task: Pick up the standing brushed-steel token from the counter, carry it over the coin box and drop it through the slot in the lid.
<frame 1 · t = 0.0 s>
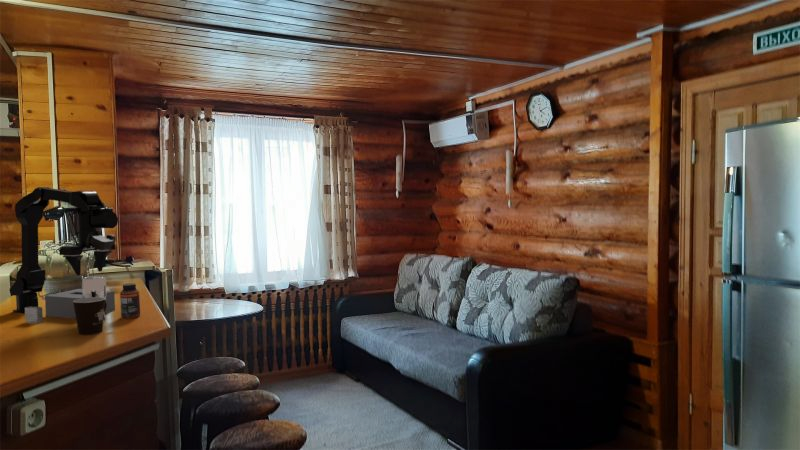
hand: (89, 273, 196), 15 cm above the worktop, fingers open, 9 cm apart
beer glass: (95, 323, 187), on the worktop
coffee mug: (95, 331, 176), on the worktop
supplement bottle: (130, 317, 195), on the worktop
token: (34, 322, 188), on the worktop
coin box: (81, 313, 201), on the worktop
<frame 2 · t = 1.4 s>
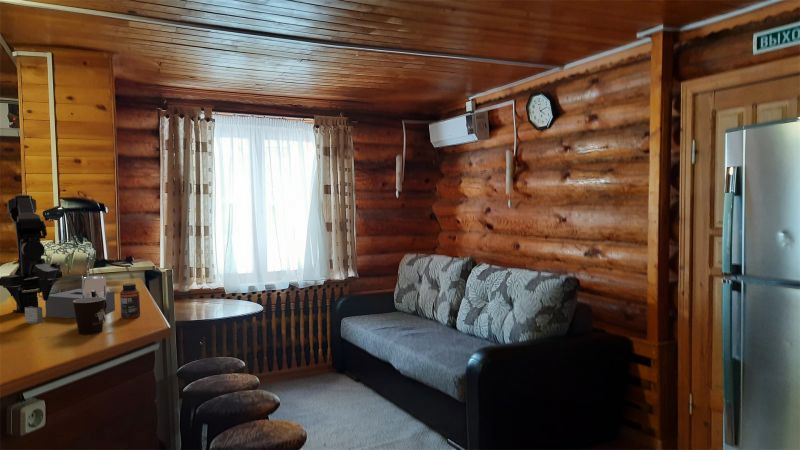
hand: (33, 303, 187), 6 cm above the worktop, fingers open, 9 cm apart
nothing on the worktop moved.
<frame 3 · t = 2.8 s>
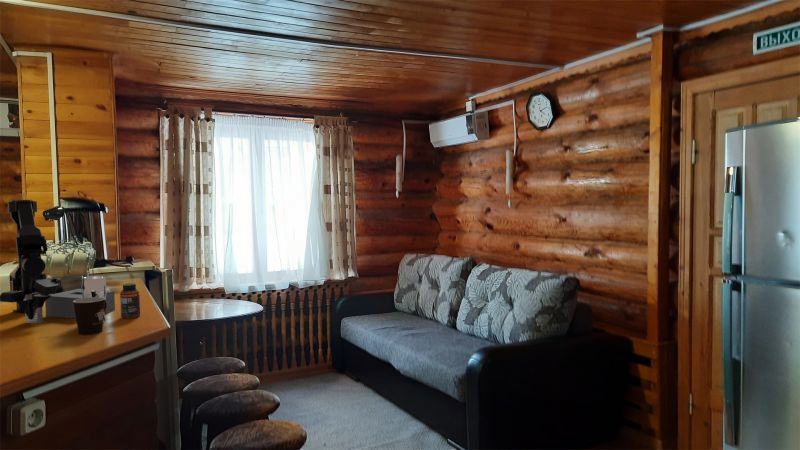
hand: (34, 318, 188), 1 cm above the worktop, fingers closed on token, 2 cm apart
token: (34, 322, 188), on the worktop, touching gripper
everything else where it was.
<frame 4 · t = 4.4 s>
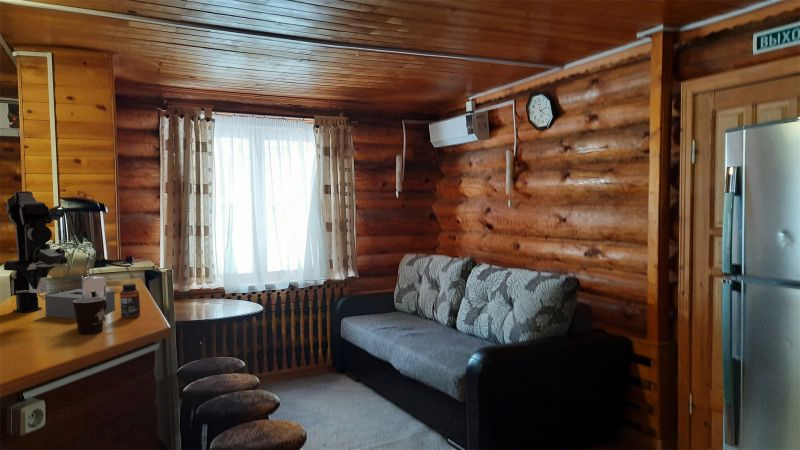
hand: (37, 288, 188), 11 cm above the worktop, fingers closed on token
token: (38, 292, 189), point 10 cm above the worktop, touching gripper
everything else where it was.
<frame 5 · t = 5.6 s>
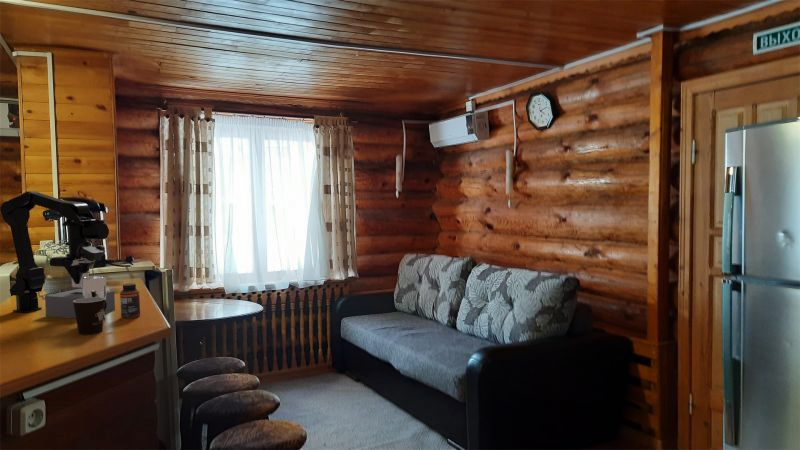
hand: (79, 283, 200), 11 cm above the worktop, fingers closed on token
token: (80, 286, 200), point 9 cm above the worktop, touching gripper
everything else where it was.
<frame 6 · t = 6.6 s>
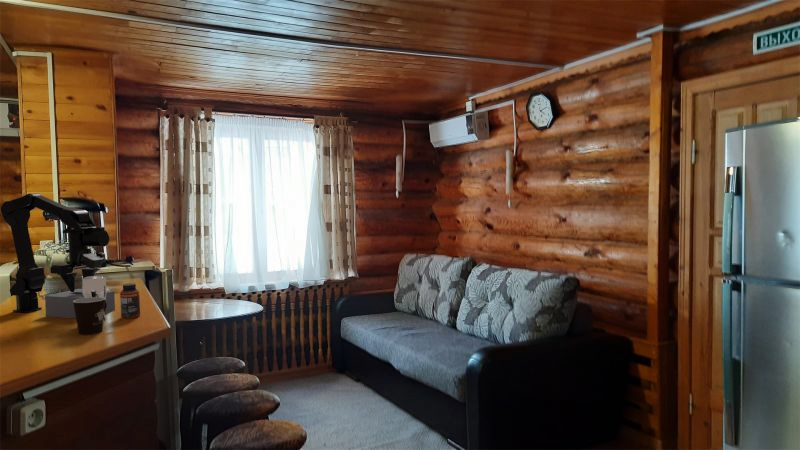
hand: (80, 290, 200), 8 cm above the worktop, fingers open, 6 cm apart
token: (81, 312, 201), resting in coin box, tilted 6°
everything else where it was.
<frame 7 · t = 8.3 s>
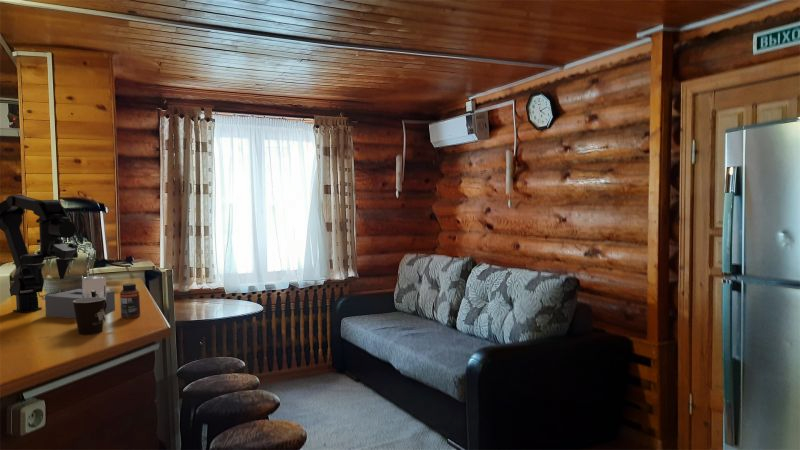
hand: (50, 281, 198), 12 cm above the worktop, fingers open, 9 cm apart
token: (81, 313, 201), resting in coin box
everything else where it was.
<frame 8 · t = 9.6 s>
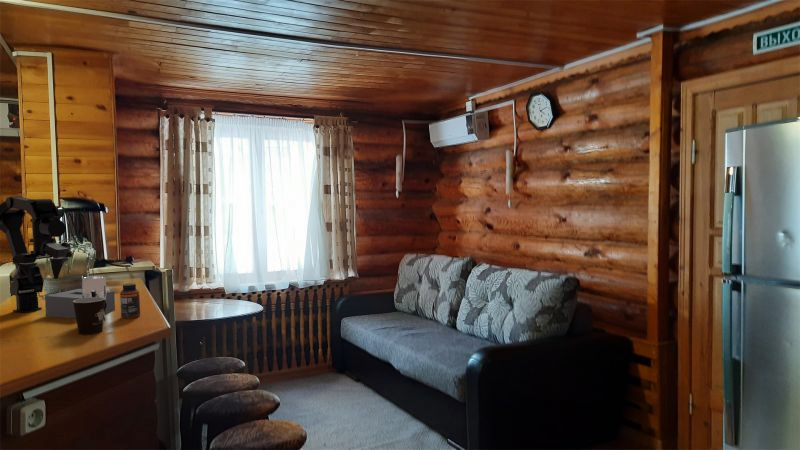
hand: (44, 280, 197), 12 cm above the worktop, fingers open, 9 cm apart
nothing on the worktop moved.
at the end: token inside the target area on the coin box (0.1 cm from its centre), point 0.0 cm above the coin box's base; the gripper is holding nothing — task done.
